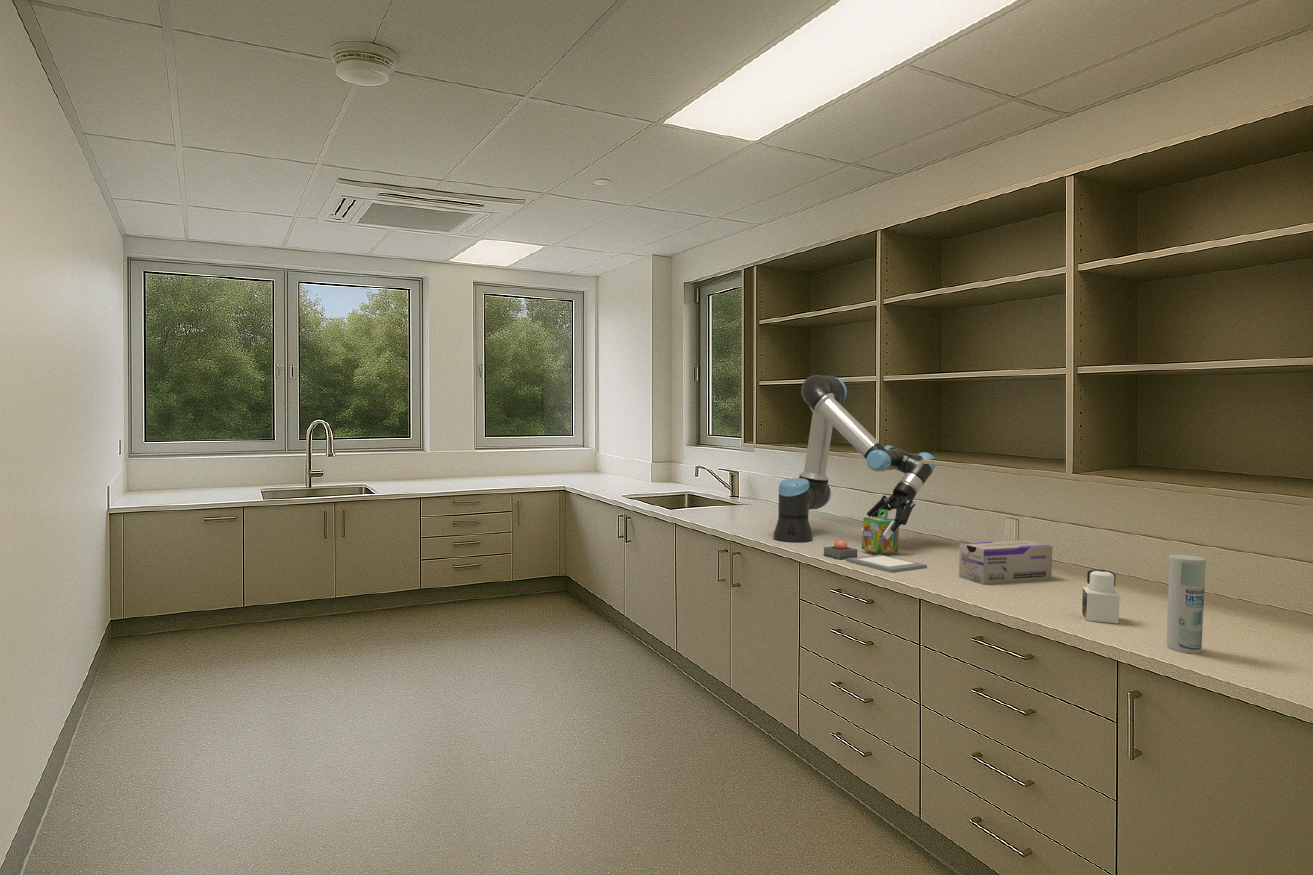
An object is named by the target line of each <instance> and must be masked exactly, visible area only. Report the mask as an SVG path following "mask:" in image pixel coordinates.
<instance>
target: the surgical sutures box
mask: <svg viewBox="0 0 1313 875" xmlns="http://www.w3.org/2000/svg"><path fill="white" fill-rule="evenodd" d="M958 558H959V560H958V562H959V564H958V578H960V579H962V580H963V579H964V580H966V581H969V582H974V583H977V584H979V585H984V586H985V585H1000V584H1001V583H1003V584H1016V583H1029V582H1032V583H1033V582H1042V581H1043V582H1044V581H1045V580H1047V581H1052V574H1053V573H1052V570H1053V569H1052V568H1053V565H1052V564H1053V563H1052V562H1053V545H1051V544H1045V543H1041V542H1037V541H1031V540H1027V539H1022V540H1018V539H1017V540H1003V541H1001V540H1000V541H999V540H998V541H977V542H960V543H959V557H958ZM1045 582H1046V581H1045Z"/></svg>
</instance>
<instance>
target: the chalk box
mask: <svg viewBox="0 0 1313 875" xmlns="http://www.w3.org/2000/svg"><path fill="white" fill-rule="evenodd" d="M882 512H884V514H883V515H882V516H881V513H882ZM888 515H889V511H888V510H884V509H879V512H878V515H877V517H875V516H874V517H869V516H867V517H863V524H862V525H863V526H862V528H863V532H862V539H861V540H862V542H861V543H862V544H861V549H862V550H865V551H869V552H872V553H875V554H877V555H881V554H889V553H891V554H892V553H898V552H899V540H900V537H899V536H900V535H899V534H900V526H899V527H898V528H897V529H896V531H895V532H893V533H892V535H891V536H890V538H889V539H888V540H886V539H885V537H884V536H883V533H884V532H885V530H886V529H887V527H888V526H889V525H890V523H891V522H892V521H895V520H894V519H895V518H892V517H891V518H890V517H888Z"/></svg>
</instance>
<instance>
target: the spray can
mask: <svg viewBox="0 0 1313 875" xmlns="http://www.w3.org/2000/svg"><path fill="white" fill-rule="evenodd" d="M1206 561H1207V560H1206V558H1204V557H1202V556H1196V555H1190V554H1189V555H1188V554H1171V555H1169V557H1168V593H1167V594H1168V595H1167V597H1168V598H1167V626H1166V647H1167V648H1168V649H1169V650H1172V651H1175V652H1180V653H1185V654H1199V653H1201V652H1202V648H1203V647H1202V646H1203V627H1204V606H1205V605H1204V604H1205V583H1206V580H1205V579H1206V565H1207V562H1206Z"/></svg>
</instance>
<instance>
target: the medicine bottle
mask: <svg viewBox="0 0 1313 875" xmlns="http://www.w3.org/2000/svg"><path fill="white" fill-rule="evenodd" d="M1086 575H1087V581H1086V585H1085V586H1082V602H1081V604H1082V605H1081V606H1082V607H1081V614H1082V616H1083V618H1084V620H1085V621H1087V622H1095V623H1107V624H1115V625H1117V624H1119V620H1120V600H1121V599H1120V598H1121V597H1120V594H1119V593H1118V592H1117V590H1116V579H1117V576H1116V574H1115V573H1114V572H1113V571H1111V570H1106V569H1097V568H1095V569H1091V570H1089V571H1087V574H1086Z"/></svg>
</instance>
